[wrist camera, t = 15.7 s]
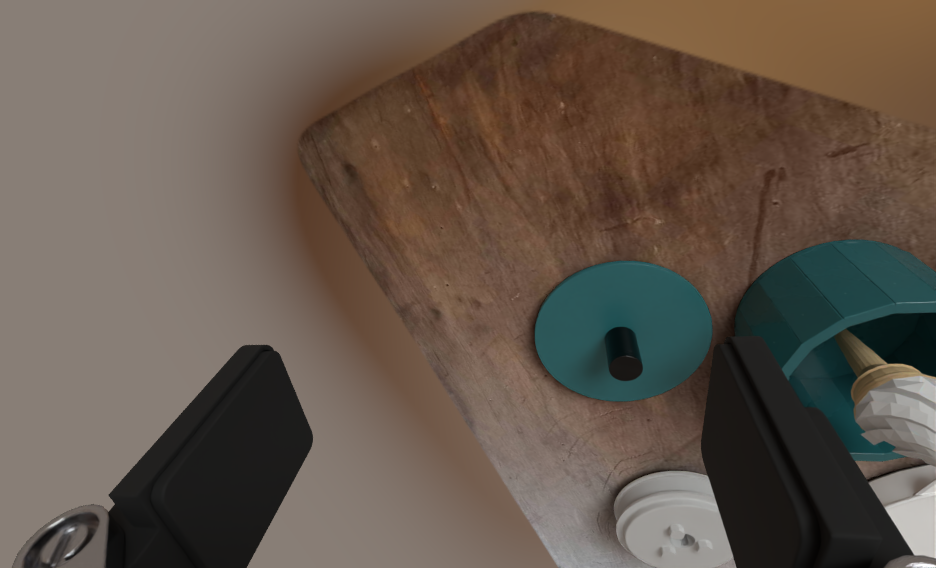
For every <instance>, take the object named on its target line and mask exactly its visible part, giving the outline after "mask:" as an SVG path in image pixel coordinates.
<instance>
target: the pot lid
mask: <svg viewBox="0 0 936 568" xmlns="http://www.w3.org/2000/svg"><path fill="white" fill-rule="evenodd" d="M711 339H712V319H711V315H710V312H709V309H708V307H707V305H706V303H705V301H704V299H703V297H702V296H701V294H700V293H699V292H698V290H697V289H696V288H695V287H694V286H693V285H692V284H691V283H690V282H689V281H687V280H686V279H684V278H683V277H682V276H680V275H679V274H677V273H675V272H673V271H671V270H669V269H666V268H664V267H661V266H658V265H655V264H650V263H646V262H638V261H615V262H607V263H602V264H598V265H594V266H591V267H588V268H586V269H583V270H581V271H579V272H577V273H575V274H573V275H571V276H570V277H568V278H567V279H565V280H564V281H563V282H561V283H560V284H559V285H558V286H556V287H555V289H554V290H553V291H552V292H551V293H550V294H549V295H548V297H547V298H546V299H545V301H544V302H543V304H542V306H541V308H540V310H539V312H538V315H537V319H536V324H535V345H536V349H537V352H538V355H539V358H540V360H541V361H542V363H543V365H544V366H545V368H546V369H547V371H548V372H549V373H550V374H551V375H552V376H553V377H554V378H555V379H556V380H557V381H559V382H560V383H561V384H562V385H564V386H566V387H567V388H569V389H571V390H573V391H575V392H577V393H579V394H582V395H584V396H587V397H591V398H595V399H599V400H606V401H634V400H641V399H645V398H650V397H653V396H656V395H659V394H662V393H664V392H666V391H668V390H671V389H672V388H674V387H676V386H677V385H679V384H681V383H682V382H683V381H685V380H686V379H687V378H688V377H689V376H691V375H692V374H693V373H694V372H695V371H696V369H697V368H698V367H699V366H700V364H701V363H702V361H703V360H704V358H705V356H706V355H707V352H708V350H709V347H710V344H711Z"/></svg>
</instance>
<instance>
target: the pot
mask: <svg viewBox="0 0 936 568" xmlns="http://www.w3.org/2000/svg"><path fill="white" fill-rule="evenodd" d="M845 329H847V330H848V331H849V332H850V333H852V334H853V335H854V336H856V337H857V338H858V339H859V340H860V341H861V342H863V343H864V344H865V345H866V346H867V347H869V348H870V349H871V350H872V351H874V352H875V353H876V354H877V355H878V356H879V357H880V358H881V359H883V360H884V361H885V362H886V363H887V364H904V365H908V366H912V367H914V368H915V369H917V370H919V371H920V373H922V374H924V375H928V376H932V377H936V272H935V271H934V270H932V269H931V268H930V267H928V266H927V265H926V264H924V263H923V262H921V261H920V260H919V259H917V258H916V257H915V256H913V255H912V254H910V253H909V252H906V251H903V250H901V249H899V248H897V247H894V246H891V245H889V244H885V243H881V242H876V241H869V240H841V241H833V242H828V243H823V244H819V245H816V246H812V247H809V248H806V249H804V250H801V251H799V252H796V253H794V254H792V255H790V256H788V257H786V258H784V259H783V260H781V261H779V262H778V263H776V264H775V265H773V266H772V267H770V268H769V269H768V270H767V271H765V272H764V273H763V274H762V275H761V276H760V277H759V278H758V279H757V280H756V281H755V282H754V283H753V284H752V285H751V287H750V288H749V289H748V290H747V292H746V293H745V295H744V297H743V298H742V300H741V302H740V304H739V307H738V309H737V313H736V317H735V326H734V330H735V337H738V336H760V337H762V338H763V339H764V341H765V342H766V344H767V346H768V347H769V349H770V351H771V352H772V354H773V356H774V357H775V359H776V361H777V362H778V364H779V366H780V367H781V369H782V371H783V373H784V374H785V376H786V378H787V379H788V381H789V383H790V384H791V386H792V388H793V389H794V391H795V393H796V394H797V396H798V398H799V399H800V401H801V403H802V404H803V406H804V407H816V408H818V409H819V410H821V411H822V412H823V413H824V415H825V416H826V417H827V418H828V420H829V422H830V423H831V425H832V426H833V428H834V429H835V431H836V433H837V434H838V436H839V437H840V439H841V440H842V442H843V443H844V445H845V447H846V448H847V450H848V451H849V453H850V454H851V456H852V458H853V459H854V461H882V462H883V461H888V460H893V459H898V458H903V457H907V456H904V455H901V454H898V453H895V452H892V451H893V450H894V449H895V448H896V447H895V446H893V445H891V444H889V443H888V442H885V441H882V442H880V443H878V444H876V445H873V444H872V443H871V442H869V441H868V440H867V439H866V438H864V437H863V436H862V435H861V434H862V433H865V432H866V431H864V430H863V429H862V428H861V427H860V426H859V425H858V424H857V423H856V422H855V418H854V411H853V410H854V407H855V403H854V401H853V399H852V397H851V389H852V386H853V384H854V382H855V381H856V380H857V379H858V377H857V376H856V374H855V373H854V371H853V369H852V368H851V366H850V365H849V363H848V361H847V360H846V358H845V356H844V354H843V352H842V351H841V349H840V347H839V346H838V344H837V342H836V340H835V338H834V336H835V335H836V334H838V333H840V332H841V331H843V330H845Z"/></svg>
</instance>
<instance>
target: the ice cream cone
mask: <svg viewBox="0 0 936 568" xmlns="http://www.w3.org/2000/svg"><path fill="white" fill-rule="evenodd" d="M834 338H835V340H836V342H837V344H838V346H839V347H840V349H841V351H842V352H843V354H844V356H845V358H846V360H847V361H848V363H849V365H850V366H851V368H852V369H853V371H854V373H855V374H856V376H857V377H858V379H857V380H856V381H855V382H854V384H853V386H852V389H851V397H852V399H853V401H854V403H855V407H854V410H853V411H854V418H855V422H856V423H857V424H858V425H859V426H860V427H861V428H862V429H863V430H864V431H866V432H865V433H862V434H861V435H862V436H863V437H864V438H866V439H867V440H868V441H869V442H871V443H872V444H873V445H876V444H878V443H880V442H882V441H885V442H888V443H889V444H891V445H893V446H895V447H896V448H895V449H894V450H893V451H892V452H895V453H898V454H901V455H904V456H907V457H912V458H918V459H921V460H923V461H924V462H925V463H927V464H929V465H932V466H934V467H936V377H932V376H928V375H924V374H922V373H920V371H919V370H917V369H915V368H914V367H912V366H908V365H904V364H887V363H886V362H885V361H884V360H883V359H881V358H880V357H879V356H878V355H877V354H876V353H875V352H874V351H872V350H871V349H870V348H869V347H867V346H866V345H865V344H864V343H863V342H861V341H860V340H859V339H858V338H857V337H856V336H854V335H853V334H852V333H850V332H849V331H848V330H847V329H845V330H843V331H841V332H840V333H838V334H836V335H835V336H834Z"/></svg>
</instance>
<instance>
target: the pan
mask: <svg viewBox="0 0 936 568" xmlns="http://www.w3.org/2000/svg"><path fill="white" fill-rule="evenodd" d="M868 483H869V484H870V486H871V487H872V489H873V491H874V492H875V494H876V495H877V497H878V498H879V500H880V502H881V503H882V505H883V506H884V508H885V509H886V511H887V513H888V514H889V516H890V517H891V519H892V520H893V522H894V524H895V525H896V527H897V528H898V530H899V531H900V533H901V535H902V536H903V538H904V539H905V541H906V542H907V544H908V546H909V547H910V549H911V550H912V552H913V553H914V555H924V556H928V557H932V558H936V467H934V466H932V465H929V464H925V465H921V466H916V467H911V468H907V469H902V470H898V471H895V472H892V473H889V474H887V475H884V476H881V477H878V478H875V479H873V480H871V481H869V482H868Z"/></svg>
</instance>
